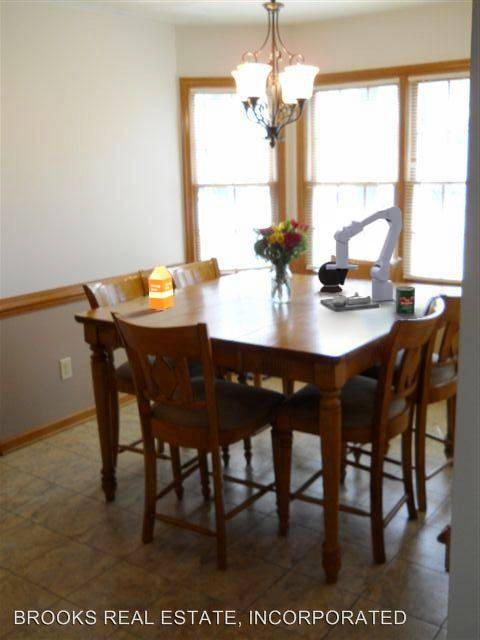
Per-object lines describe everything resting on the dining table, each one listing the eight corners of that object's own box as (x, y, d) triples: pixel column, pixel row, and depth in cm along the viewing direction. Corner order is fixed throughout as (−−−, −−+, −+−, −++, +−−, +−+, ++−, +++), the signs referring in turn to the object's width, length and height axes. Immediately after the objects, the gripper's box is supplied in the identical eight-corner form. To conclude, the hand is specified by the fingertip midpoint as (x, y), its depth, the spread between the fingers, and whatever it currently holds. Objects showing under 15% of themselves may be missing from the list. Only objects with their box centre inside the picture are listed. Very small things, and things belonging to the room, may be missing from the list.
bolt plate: (362, 299, 328) (362, 287, 327) (379, 307, 310) (379, 295, 309) (320, 302, 324) (320, 291, 322) (335, 311, 306) (335, 299, 304)
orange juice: (174, 306, 328) (171, 265, 323) (164, 310, 320) (161, 268, 315) (159, 305, 331) (157, 264, 326) (150, 309, 323) (147, 267, 319)
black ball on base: (348, 289, 352) (348, 260, 349) (337, 294, 342) (337, 264, 338) (325, 287, 359) (324, 259, 356) (313, 292, 349) (313, 262, 345)
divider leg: (346, 303, 313) (346, 296, 312) (343, 302, 314) (343, 296, 314) (358, 298, 321) (358, 292, 320) (355, 298, 322) (355, 292, 321)
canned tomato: (404, 316, 292) (404, 290, 289) (391, 312, 299) (392, 287, 296) (418, 313, 295) (419, 288, 293) (406, 310, 302) (406, 285, 300)
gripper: (324, 256, 316) (324, 285, 320) (356, 257, 311) (356, 286, 314) (328, 254, 323) (328, 283, 326) (359, 255, 318) (359, 284, 321)
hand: (342, 284), depth 321 cm, fingers closed
